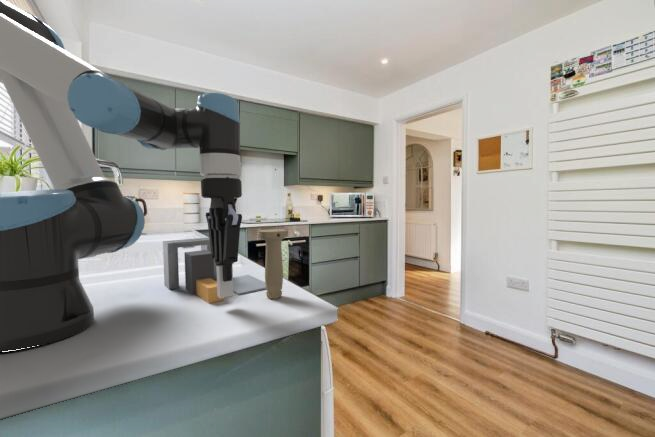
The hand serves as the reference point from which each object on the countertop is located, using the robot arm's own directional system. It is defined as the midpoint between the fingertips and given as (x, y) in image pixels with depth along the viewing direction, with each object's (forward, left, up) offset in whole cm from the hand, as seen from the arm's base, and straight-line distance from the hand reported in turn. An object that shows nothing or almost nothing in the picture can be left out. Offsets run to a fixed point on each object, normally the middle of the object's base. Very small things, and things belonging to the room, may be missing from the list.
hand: (225, 295), depth 60 cm
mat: (+10, +13, -3) cm, 16 cm away
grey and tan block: (0, +12, -3) cm, 13 cm away
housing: (+1, +23, -3) cm, 23 cm away
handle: (+11, -1, -3) cm, 11 cm away
